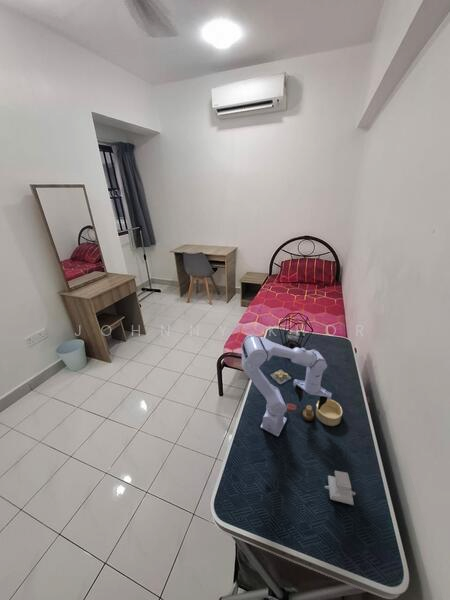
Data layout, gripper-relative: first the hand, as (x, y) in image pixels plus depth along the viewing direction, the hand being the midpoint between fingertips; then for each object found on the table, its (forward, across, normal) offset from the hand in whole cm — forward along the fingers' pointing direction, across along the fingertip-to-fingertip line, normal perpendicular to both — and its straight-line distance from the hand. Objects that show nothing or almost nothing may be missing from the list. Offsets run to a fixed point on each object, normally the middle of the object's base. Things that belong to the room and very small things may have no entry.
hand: (309, 403), depth 99 cm
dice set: (+8, +19, -16) cm, 26 cm away
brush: (+8, 0, 0) cm, 8 cm away
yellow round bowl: (+8, -7, -5) cm, 12 cm away
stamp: (+8, -17, +23) cm, 30 cm away
